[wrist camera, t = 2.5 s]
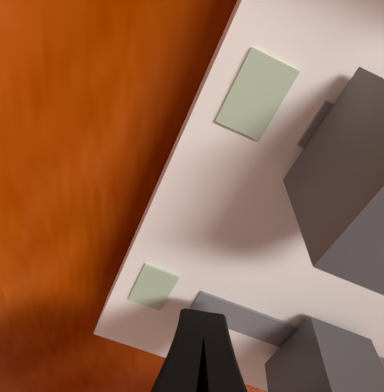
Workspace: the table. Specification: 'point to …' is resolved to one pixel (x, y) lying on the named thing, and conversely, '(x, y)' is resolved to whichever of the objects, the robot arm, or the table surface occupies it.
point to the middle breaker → (345, 186)
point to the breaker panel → (249, 190)
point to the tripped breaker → (325, 362)
